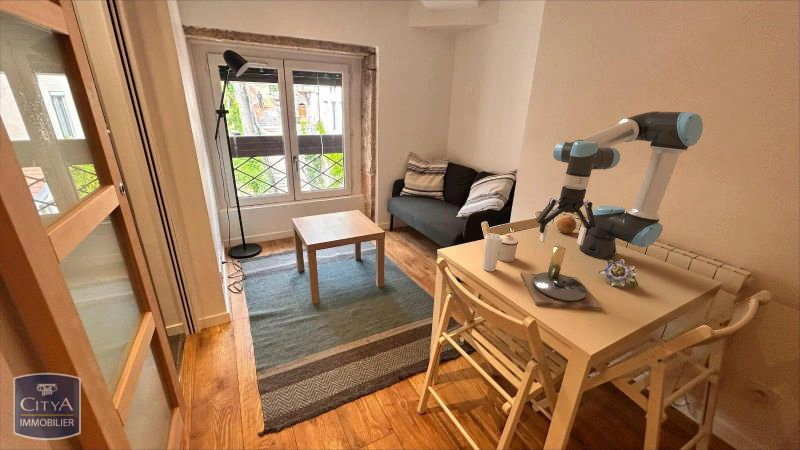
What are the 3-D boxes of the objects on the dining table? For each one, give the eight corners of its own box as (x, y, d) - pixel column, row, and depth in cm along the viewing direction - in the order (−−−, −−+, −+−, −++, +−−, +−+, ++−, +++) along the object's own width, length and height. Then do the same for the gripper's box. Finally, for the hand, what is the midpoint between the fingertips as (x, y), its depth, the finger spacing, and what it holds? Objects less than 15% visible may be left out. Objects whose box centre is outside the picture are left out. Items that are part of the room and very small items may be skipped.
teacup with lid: (518, 258, 142) (523, 235, 138) (507, 264, 136) (512, 240, 132) (496, 249, 150) (499, 226, 146) (484, 254, 145) (488, 231, 141)
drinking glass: (488, 274, 128) (493, 240, 122) (477, 266, 133) (481, 234, 128) (500, 270, 131) (506, 238, 125) (489, 263, 136) (494, 232, 131)
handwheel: (573, 277, 124) (581, 246, 119) (595, 304, 107) (606, 269, 103) (526, 273, 126) (533, 243, 121) (541, 299, 109) (549, 265, 104)
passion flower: (609, 297, 125) (595, 272, 124) (612, 281, 132) (599, 258, 131) (642, 293, 117) (628, 266, 116) (643, 277, 124) (630, 251, 123)
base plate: (576, 280, 126) (577, 277, 125) (601, 310, 107) (602, 307, 106) (520, 275, 127) (521, 272, 127) (535, 305, 109) (536, 301, 108)
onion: (552, 228, 180) (555, 212, 176) (570, 230, 179) (574, 213, 175) (558, 235, 171) (562, 218, 167) (577, 236, 170) (581, 219, 166)
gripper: (541, 186, 107) (529, 243, 114) (617, 192, 105) (600, 249, 112) (534, 182, 114) (523, 235, 121) (606, 186, 112) (590, 241, 119)
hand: (560, 242), depth 117 cm, fingers open, 13 cm apart
